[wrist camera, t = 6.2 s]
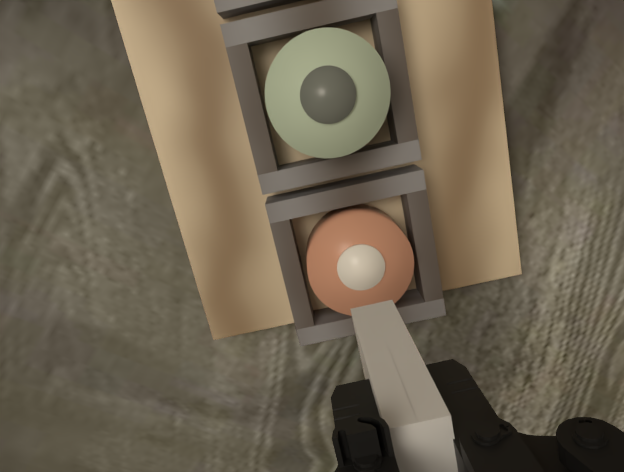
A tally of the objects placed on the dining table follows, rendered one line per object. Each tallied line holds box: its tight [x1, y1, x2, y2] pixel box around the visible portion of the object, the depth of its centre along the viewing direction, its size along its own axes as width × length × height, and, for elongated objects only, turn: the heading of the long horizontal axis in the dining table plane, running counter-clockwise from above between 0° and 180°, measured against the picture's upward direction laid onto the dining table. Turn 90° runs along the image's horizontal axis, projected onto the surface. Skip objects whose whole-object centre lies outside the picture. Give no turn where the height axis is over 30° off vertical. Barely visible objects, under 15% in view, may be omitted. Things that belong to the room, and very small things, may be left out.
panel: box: [111, 0, 522, 346], centre depth 26 cm, size 18×25×4 cm
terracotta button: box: [306, 204, 414, 316], centre depth 27 cm, size 5×5×3 cm
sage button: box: [265, 27, 391, 158], centre depth 23 cm, size 5×5×3 cm
